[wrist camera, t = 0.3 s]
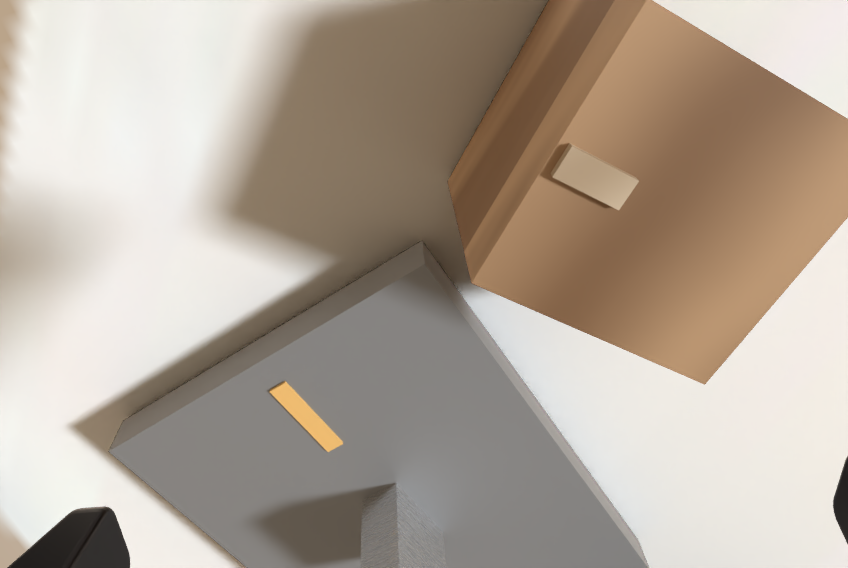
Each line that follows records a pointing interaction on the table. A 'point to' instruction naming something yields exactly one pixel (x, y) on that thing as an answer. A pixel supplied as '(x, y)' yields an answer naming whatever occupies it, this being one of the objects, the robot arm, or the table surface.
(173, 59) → the table surface
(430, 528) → the grey small block
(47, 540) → the robot arm
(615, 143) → the shipping carton
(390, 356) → the gray rectangular slab
